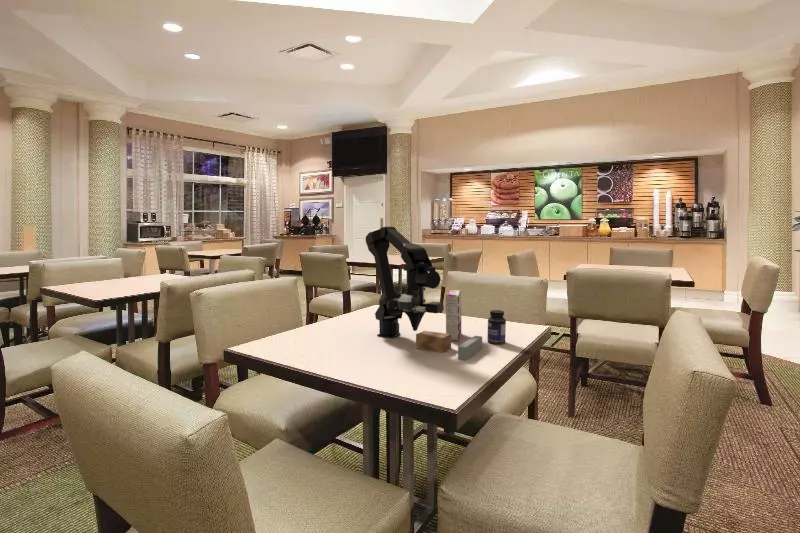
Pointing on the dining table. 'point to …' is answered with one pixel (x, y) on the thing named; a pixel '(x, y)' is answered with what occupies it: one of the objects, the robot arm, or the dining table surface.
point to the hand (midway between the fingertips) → (415, 330)
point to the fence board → (469, 347)
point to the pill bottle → (496, 327)
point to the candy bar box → (453, 314)
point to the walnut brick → (433, 341)
